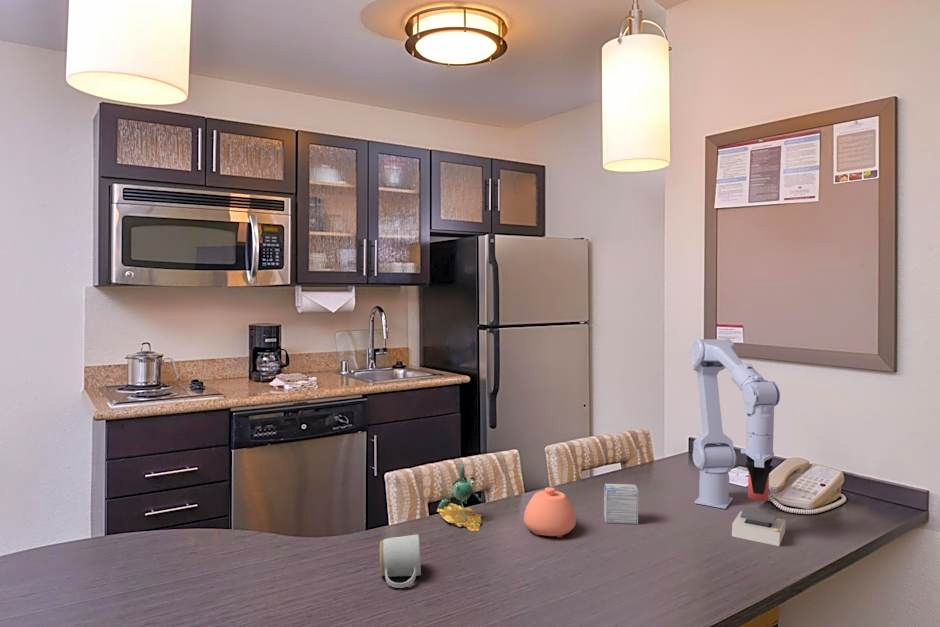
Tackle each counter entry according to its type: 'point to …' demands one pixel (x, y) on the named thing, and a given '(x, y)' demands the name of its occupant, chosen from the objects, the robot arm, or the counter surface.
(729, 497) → the robot arm
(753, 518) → the switch
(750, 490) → the cap
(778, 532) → the box
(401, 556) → the ceramic mug
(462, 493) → the frog figurine
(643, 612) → the counter surface
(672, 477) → the counter surface
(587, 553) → the counter surface
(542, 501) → the sugar bowl
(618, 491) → the medicine box
